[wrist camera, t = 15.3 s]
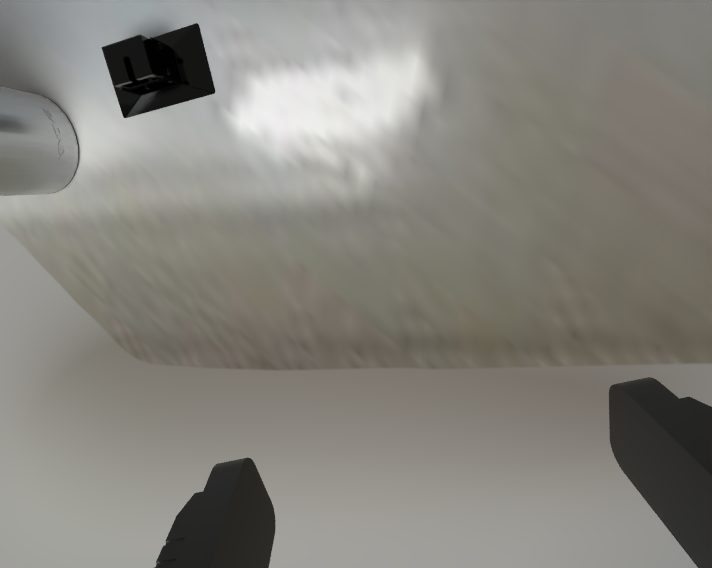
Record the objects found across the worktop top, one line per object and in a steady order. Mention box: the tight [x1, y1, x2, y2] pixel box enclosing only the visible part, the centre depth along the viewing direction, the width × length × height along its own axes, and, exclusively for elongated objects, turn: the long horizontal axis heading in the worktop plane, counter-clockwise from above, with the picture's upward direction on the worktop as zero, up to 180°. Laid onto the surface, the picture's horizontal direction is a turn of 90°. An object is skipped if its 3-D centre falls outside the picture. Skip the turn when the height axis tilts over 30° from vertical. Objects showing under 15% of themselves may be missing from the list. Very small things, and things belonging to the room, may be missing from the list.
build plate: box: [102, 23, 215, 118], centre depth 34 cm, size 12×7×5 cm, turn 102°
